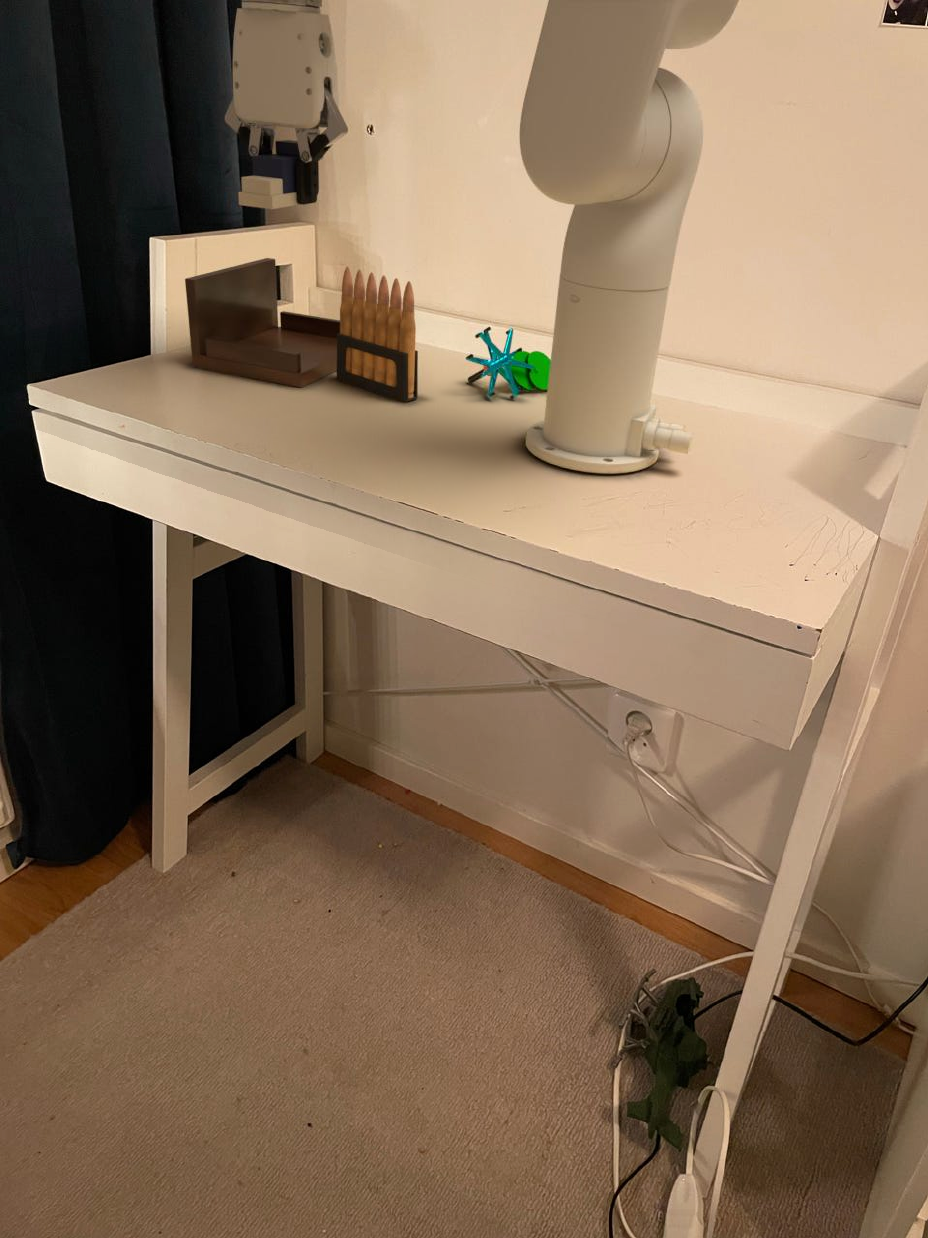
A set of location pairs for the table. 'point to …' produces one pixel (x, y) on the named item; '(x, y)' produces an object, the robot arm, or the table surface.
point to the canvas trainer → (273, 179)
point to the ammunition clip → (377, 338)
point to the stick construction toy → (512, 366)
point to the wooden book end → (256, 328)
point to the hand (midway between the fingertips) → (287, 198)
